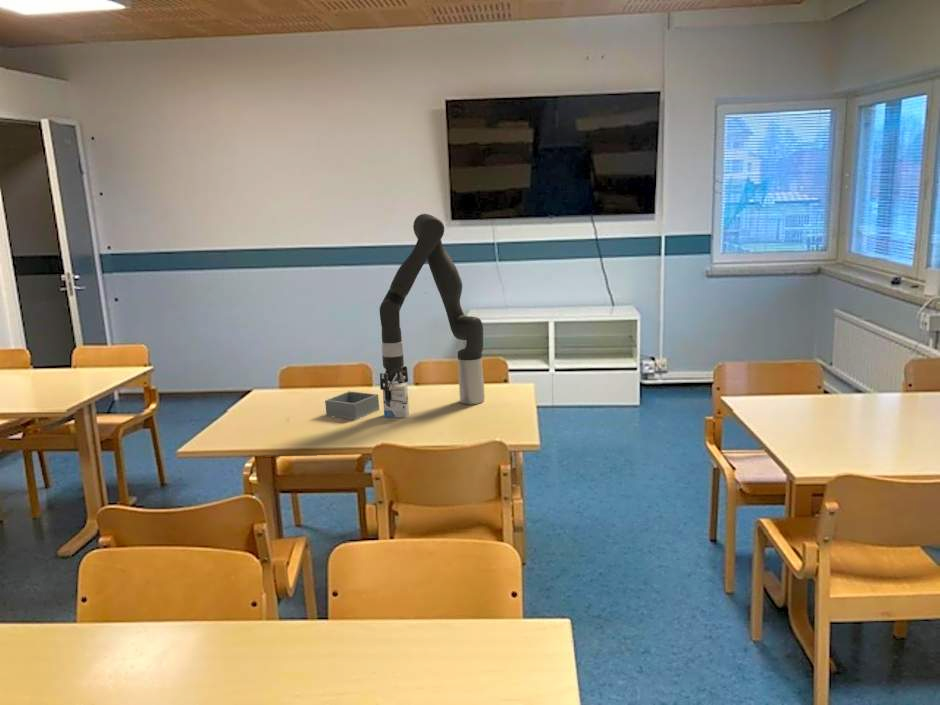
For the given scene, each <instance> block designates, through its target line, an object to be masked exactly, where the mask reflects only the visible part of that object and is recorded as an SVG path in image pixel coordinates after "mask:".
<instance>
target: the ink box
mask: <svg viewBox="0 0 940 705" xmlns="http://www.w3.org/2000/svg"><path fill="white" fill-rule="evenodd" d="M384 385H385V384H384V383H383V386H384ZM388 387H389V385H388ZM391 397H392V400H391V401H387V400H386V399H385V391H384V390H382V399H383V400H382V401H383V415H384V416H383V417H384V418H407V417H409V415H410V407H409V406H410V405H409V388H408V383H407V382H406V383H398V382H394V385H392V388H391Z"/></svg>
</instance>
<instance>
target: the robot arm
mask: <svg viewBox="0 0 940 705" xmlns="http://www.w3.org/2000/svg"><path fill="white" fill-rule="evenodd" d="M412 228H413V233H414V235H415V237H416V238H417V241H416V244H415V246H414V248H413V250H412V251H411V253H410V254H409V255H408V256H407V258H406V259H405V260H404V261H403V262H402V264H401V265H400V266H399V267H398V270H397V271H396V273H395V275H394V277H393V280H392V282H391V284H390V286H389V289H388V291H387V293H386V295H385V296H384V299H383V300H382V302H381V304H380V306H379V317H380V318H379V320H380V326H381V354H382V355H381V356H382V367H383V368H384V369H385V372H384V373H383V372H382V373H381V372H380V374H379V384H380V388H379V389H380V390H381V391H383V390H384V391H385V399H386V400H387V401H391V400H392V397H391V388H392V385H394V383H406V384H407V383H408V382H409V374H408V367H407V366H404V365H405V363H404V362H405V361H404V349H403V348H404V347H403V346H404V345H403V341H402V339H403V338H402V328H401V323H400V319H401V318H400V311H401V309H402V306H403V304H404V302H405V299H406V298H407V296H408V294H410V291H411V289H412V287H413V285H414V283H415V281H416V279H417V277H418V275H419V273H420V271H421V270H422V267H423V266H424V264H425V263H426V262H427V263H428V266H429V270H430V272H431V275H432V278H433V281H434V284H435V285H436V289H437V290H438V293H439V295H440V298H441V301H442V303H443V306H444V307H443V308H444V310H445V312H446V316H447V320H448V324H449V328H450V330H451V333H452V335H453V337H455V339H457V340H459V341H460V340H461V341H465V347H464V348H462V349H459V350H458V351H457V367H458V368H457V370H458V371H457V372H458V387H459V402H460V403H461V404H464V405H477V404H481V403H483V402H484V401H485V385H484V383H485V382H484V378H485V377H484V373H483V350H484V325H483V322H482V320H481V319H480V318H479V317H477V316H470V315H465V313H464V311H463V309H462V306H461V296H462V293H463V292H462V291H463V282H462V278H461V276H460V273H459V271H458V268H457V266H456V264H455V263H454V261H453V259H452V258H451V256H450V255H449V253H448V252H447V250H446V248H445V246H444V244H443V242H442V238H443V236H444V234H445V225H444V223H443V221H442V220H440V219H439V218H437V217H436V216H434V215H431V214H428V213H421V214H419V215H417V216H416V218H415V219H414V221H413V226H412ZM384 384H385V385H384ZM383 385H384V386H383ZM388 385H389V387H388Z"/></svg>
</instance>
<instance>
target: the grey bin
mask: <svg viewBox="0 0 940 705" xmlns="http://www.w3.org/2000/svg"><path fill="white" fill-rule="evenodd" d="M324 401H325V402H324V403H325V415H326V417H329V416H334V417H333V418H337V417H341V418H340V419H344V418H349V419H348V420H352V419H357V420H360V419H361V418H360V417H362V418H364V417H366V416H368V415H367V414H369V415H371V414H373V413H375V412H377V410H378V411H379V410H380V400H379V394H378V393H369V392H368V393H367V392H358V391H350V390H349V391H347V392H344V393H342V394H339V395H337V396H333V397H332V398H328V399H325V400H324ZM374 411H375V412H374ZM372 412H373V413H372ZM370 413H371V414H370ZM365 415H366V416H365ZM363 416H364V417H363ZM359 418H360V419H359Z"/></svg>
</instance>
